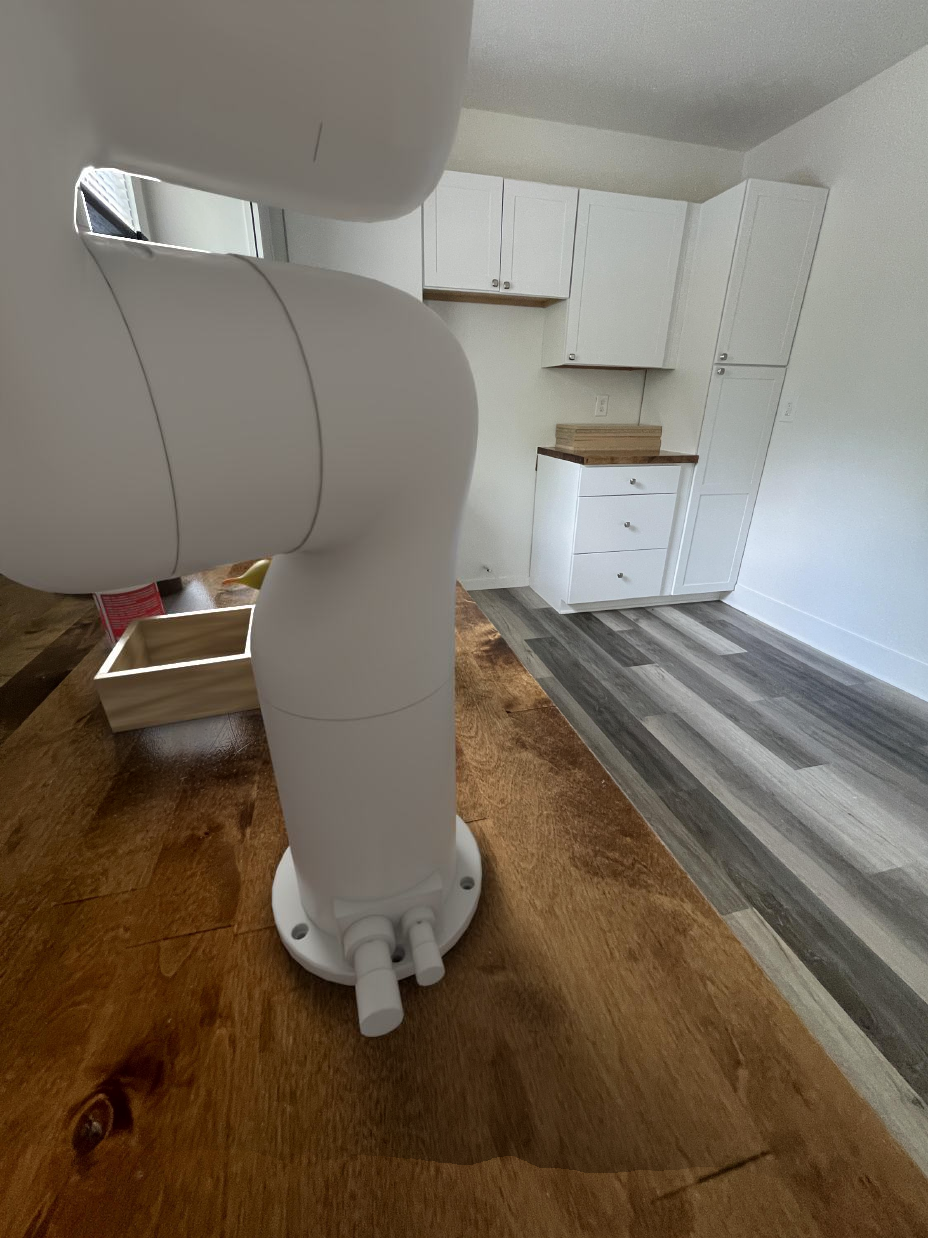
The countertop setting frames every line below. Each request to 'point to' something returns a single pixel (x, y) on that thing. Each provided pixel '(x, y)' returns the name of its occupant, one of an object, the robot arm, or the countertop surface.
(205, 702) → the holder
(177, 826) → the countertop surface
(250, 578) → the neti pot
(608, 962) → the countertop surface
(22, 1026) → the countertop surface
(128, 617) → the pill bottle
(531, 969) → the countertop surface
